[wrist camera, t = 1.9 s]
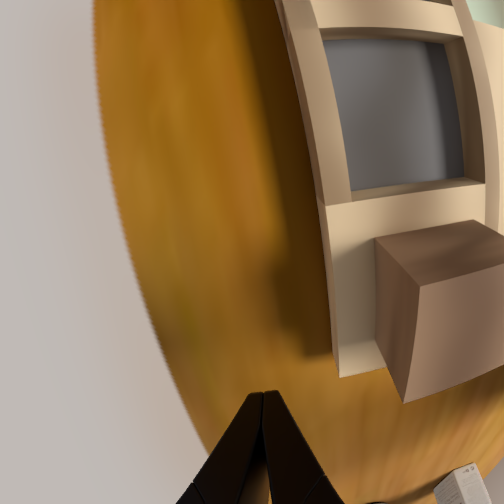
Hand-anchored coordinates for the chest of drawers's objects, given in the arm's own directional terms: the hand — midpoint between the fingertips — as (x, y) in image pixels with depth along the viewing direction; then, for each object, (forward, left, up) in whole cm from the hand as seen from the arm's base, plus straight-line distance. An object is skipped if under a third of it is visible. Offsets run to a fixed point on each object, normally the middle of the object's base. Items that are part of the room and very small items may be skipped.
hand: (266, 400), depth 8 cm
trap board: (-11, -8, -7) cm, 15 cm away
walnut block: (-7, 0, -5) cm, 8 cm away
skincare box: (-20, +34, -7) cm, 40 cm away
